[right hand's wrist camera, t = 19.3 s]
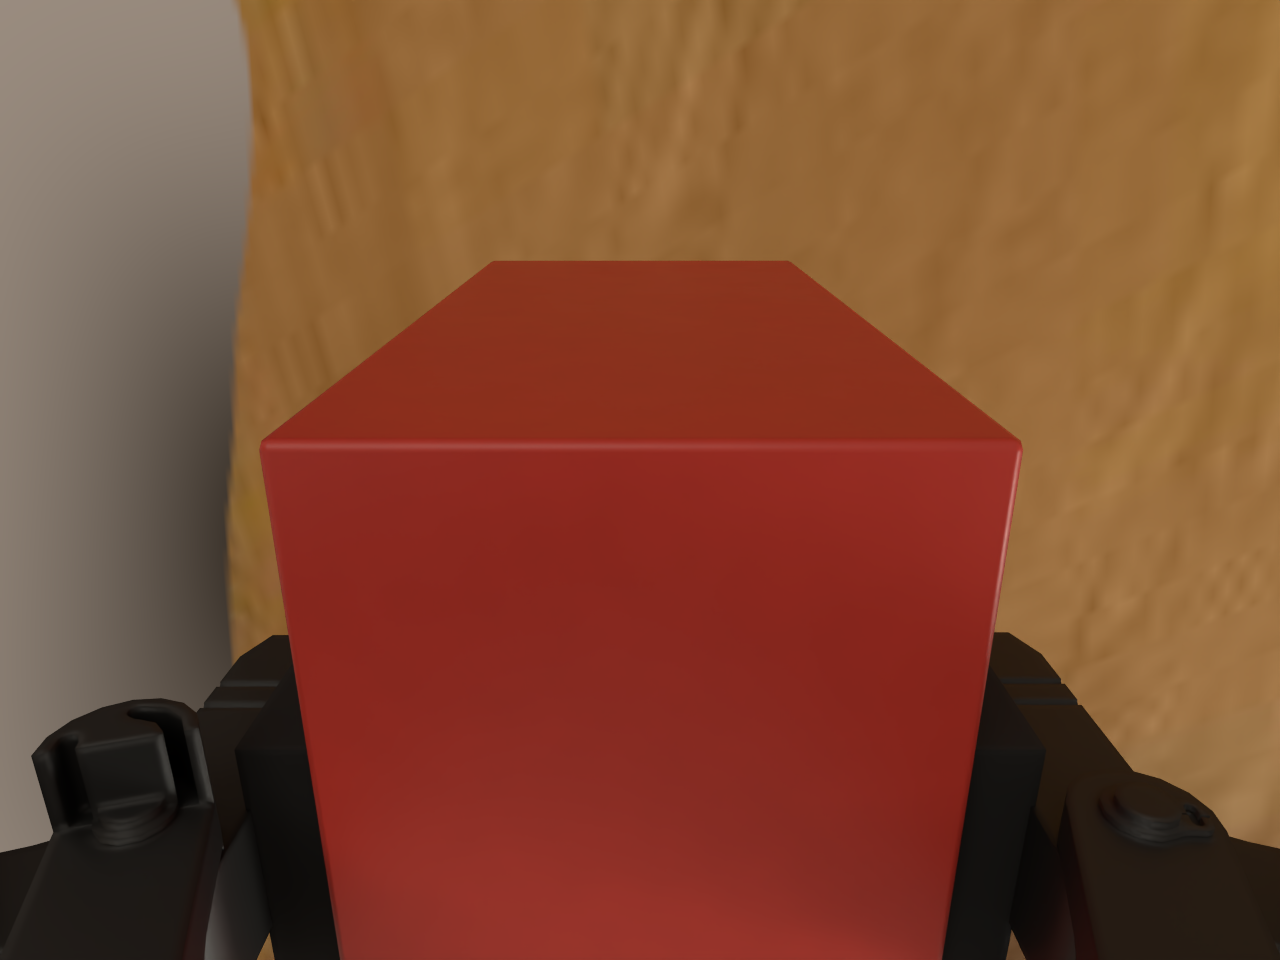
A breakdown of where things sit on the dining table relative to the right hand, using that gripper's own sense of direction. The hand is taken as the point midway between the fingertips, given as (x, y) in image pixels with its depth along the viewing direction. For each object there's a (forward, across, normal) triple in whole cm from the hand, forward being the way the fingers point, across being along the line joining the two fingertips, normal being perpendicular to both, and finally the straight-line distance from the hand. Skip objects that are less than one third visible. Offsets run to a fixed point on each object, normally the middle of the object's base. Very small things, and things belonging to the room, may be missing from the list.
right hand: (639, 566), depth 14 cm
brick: (+4, 0, 0) cm, 4 cm away
